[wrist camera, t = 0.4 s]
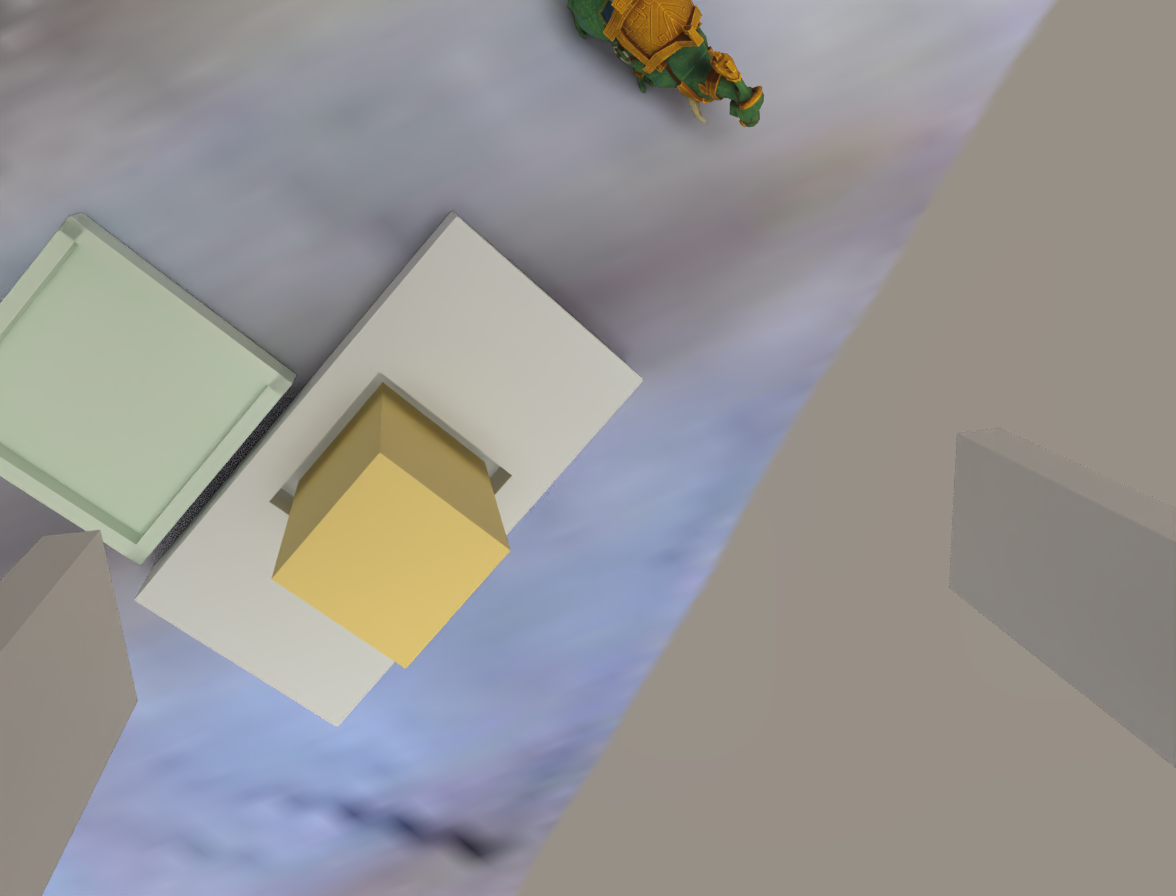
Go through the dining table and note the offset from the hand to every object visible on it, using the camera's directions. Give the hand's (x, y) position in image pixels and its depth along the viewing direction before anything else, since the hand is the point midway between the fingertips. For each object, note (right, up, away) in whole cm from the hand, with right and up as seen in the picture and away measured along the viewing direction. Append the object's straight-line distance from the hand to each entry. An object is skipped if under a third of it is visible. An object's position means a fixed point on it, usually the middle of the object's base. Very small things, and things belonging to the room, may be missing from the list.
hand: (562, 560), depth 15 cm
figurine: (+1, +18, +21) cm, 27 cm away
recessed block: (-7, +1, +24) cm, 25 cm away
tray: (-17, +4, +21) cm, 27 cm away
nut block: (-7, +1, +23) cm, 24 cm away
